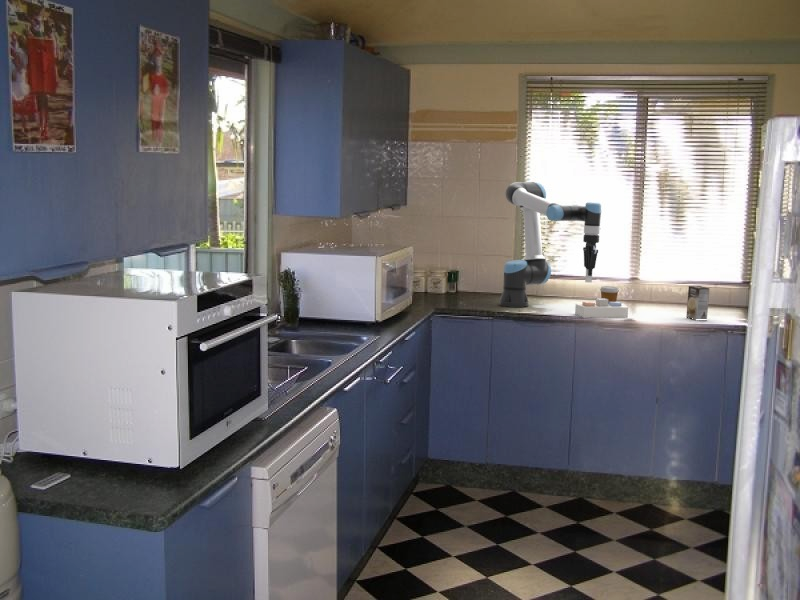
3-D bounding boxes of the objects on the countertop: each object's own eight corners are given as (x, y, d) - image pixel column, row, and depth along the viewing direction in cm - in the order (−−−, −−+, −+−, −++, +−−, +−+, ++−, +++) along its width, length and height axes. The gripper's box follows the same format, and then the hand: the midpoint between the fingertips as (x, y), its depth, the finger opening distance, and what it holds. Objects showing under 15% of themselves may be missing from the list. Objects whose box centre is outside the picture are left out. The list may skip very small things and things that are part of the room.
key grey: (595, 310, 454) (595, 298, 453) (603, 310, 455) (604, 298, 454) (599, 311, 450) (599, 299, 449) (607, 311, 451) (608, 299, 450)
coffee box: (685, 317, 454) (687, 285, 452) (696, 317, 456) (699, 285, 453) (696, 320, 445) (698, 288, 443) (707, 320, 447) (710, 288, 445)
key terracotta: (581, 313, 453) (582, 301, 452) (590, 313, 454) (591, 301, 453) (585, 315, 449) (586, 303, 448) (594, 315, 450) (594, 303, 449)
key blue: (608, 313, 456) (608, 301, 455) (616, 313, 457) (617, 301, 456) (612, 315, 452) (612, 303, 451) (620, 314, 452) (621, 302, 452)
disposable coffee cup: (618, 312, 465) (619, 289, 463) (598, 311, 467) (600, 288, 465) (617, 309, 474) (618, 286, 473) (598, 308, 476) (600, 285, 474)
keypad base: (575, 313, 456) (575, 304, 455) (617, 313, 461) (618, 303, 460) (583, 317, 445) (584, 307, 444) (627, 317, 450) (628, 307, 449)
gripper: (604, 235, 441) (601, 284, 444) (593, 233, 453) (590, 280, 457) (589, 235, 439) (586, 284, 443) (579, 233, 452) (576, 280, 455)
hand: (588, 282), depth 450 cm, fingers closed
